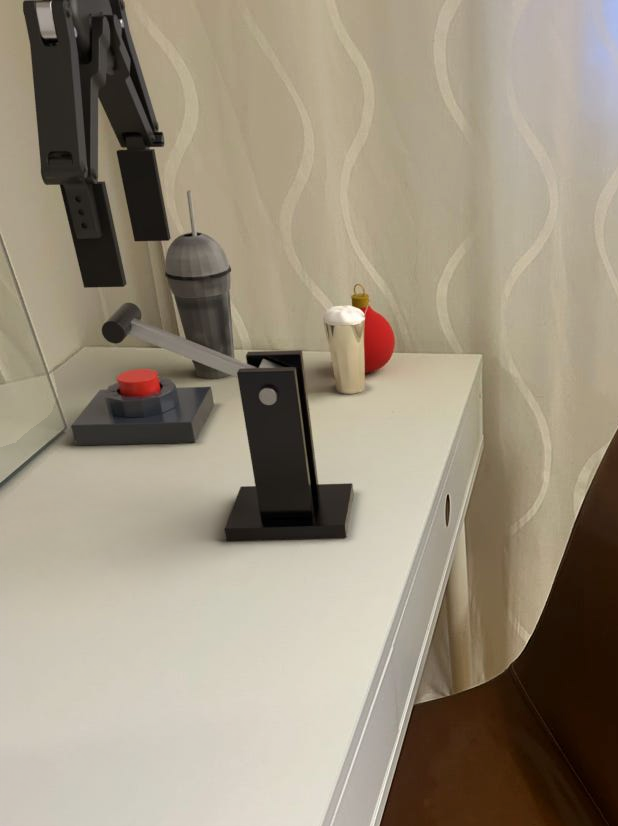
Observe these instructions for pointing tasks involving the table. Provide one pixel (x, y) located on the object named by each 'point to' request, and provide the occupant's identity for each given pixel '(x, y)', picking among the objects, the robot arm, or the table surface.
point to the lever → (169, 341)
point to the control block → (144, 416)
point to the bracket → (283, 459)
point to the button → (138, 382)
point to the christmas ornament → (374, 334)
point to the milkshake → (346, 346)
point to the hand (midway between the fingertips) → (131, 261)
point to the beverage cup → (201, 292)
